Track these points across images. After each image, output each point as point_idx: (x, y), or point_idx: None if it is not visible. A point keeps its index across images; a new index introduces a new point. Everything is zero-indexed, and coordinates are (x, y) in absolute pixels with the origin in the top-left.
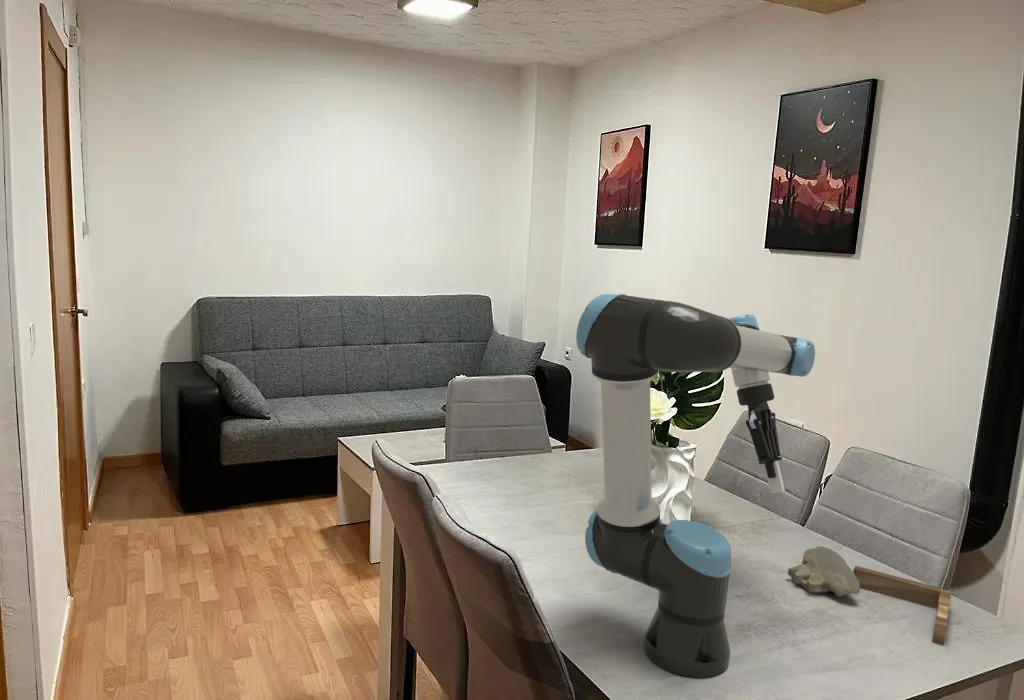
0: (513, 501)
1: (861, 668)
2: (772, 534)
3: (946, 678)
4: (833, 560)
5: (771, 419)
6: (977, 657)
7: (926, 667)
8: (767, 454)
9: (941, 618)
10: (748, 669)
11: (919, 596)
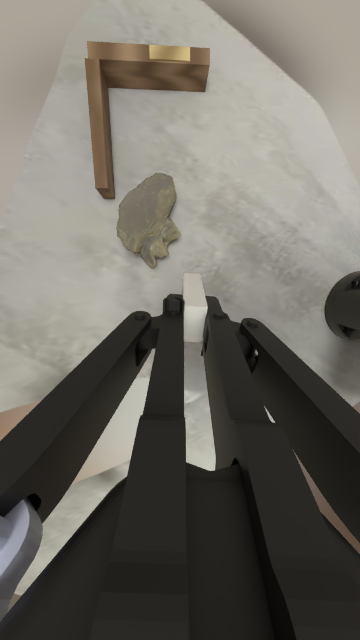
0: None
1: (304, 162)
2: (30, 314)
3: (279, 74)
4: (140, 206)
5: (132, 517)
6: (210, 35)
7: (267, 96)
8: (273, 337)
9: (190, 56)
10: (356, 255)
11: (106, 103)
